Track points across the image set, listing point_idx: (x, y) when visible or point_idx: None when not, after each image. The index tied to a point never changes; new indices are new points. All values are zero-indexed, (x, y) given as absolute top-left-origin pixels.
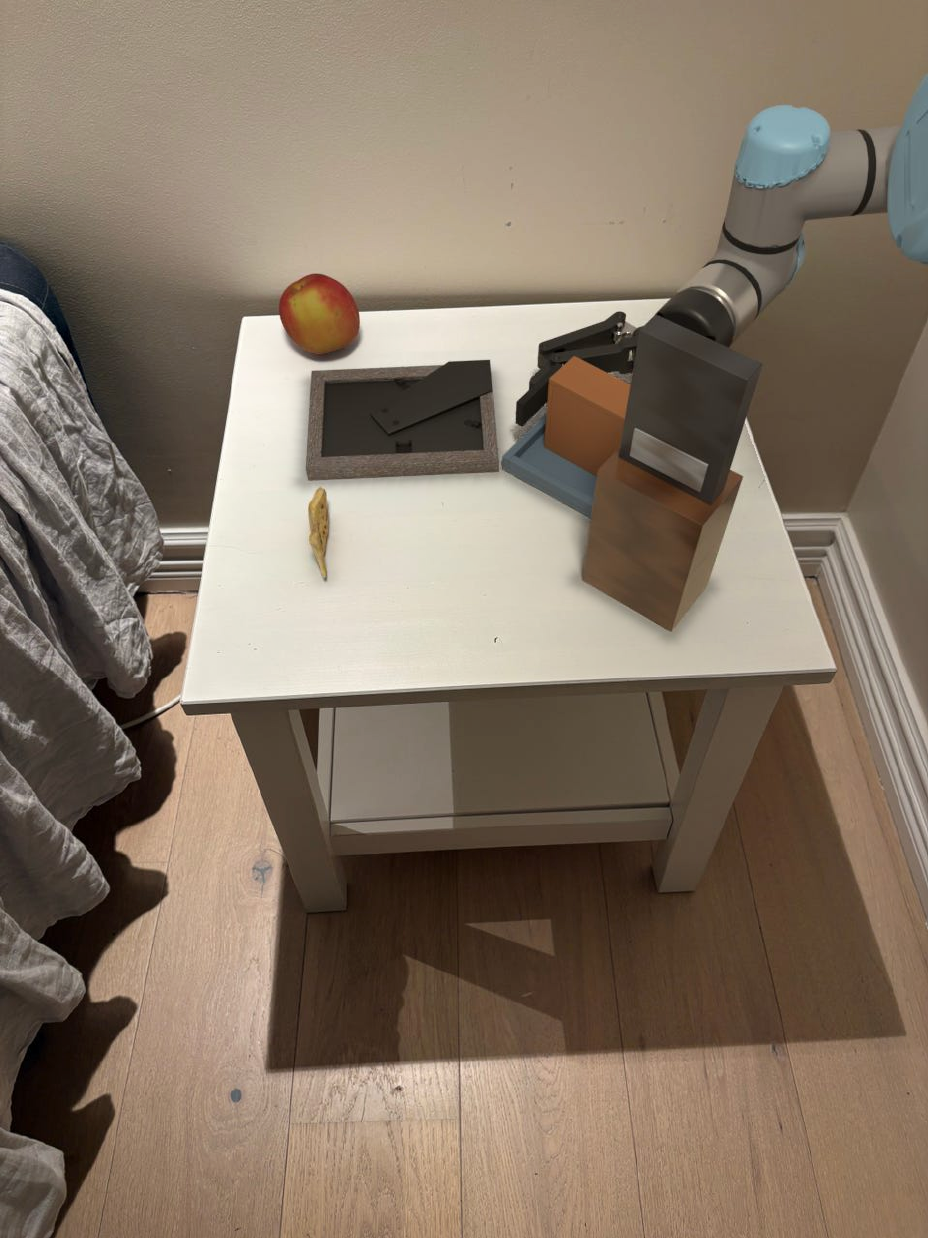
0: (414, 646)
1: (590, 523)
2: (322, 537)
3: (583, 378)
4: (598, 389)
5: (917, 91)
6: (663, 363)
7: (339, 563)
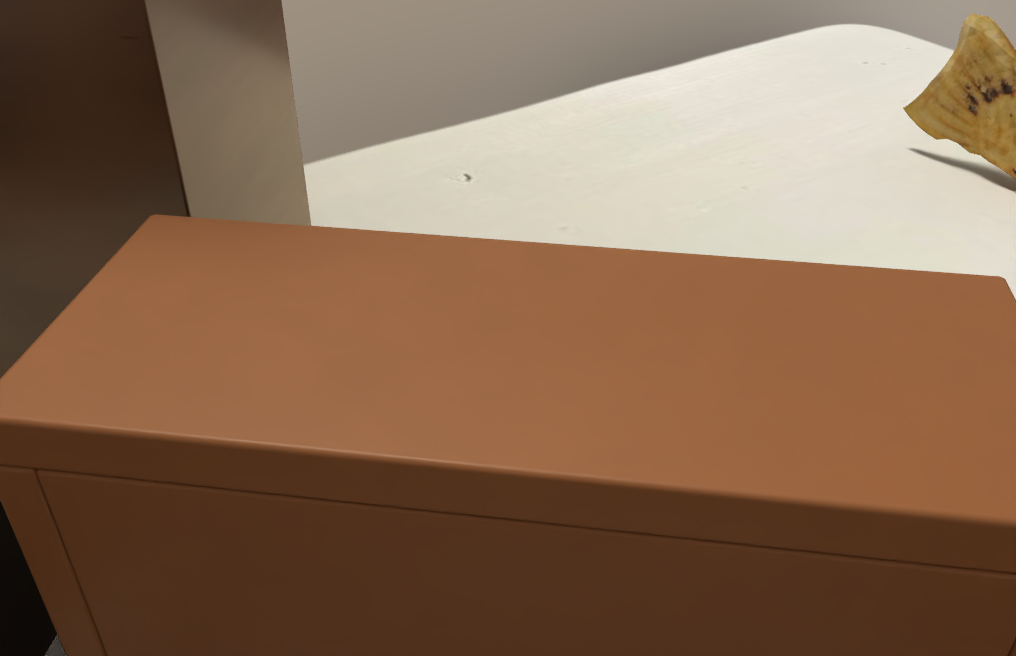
0: (618, 129)
1: (286, 43)
2: (1012, 124)
3: (796, 357)
4: (607, 322)
5: None
6: None
7: (936, 176)
